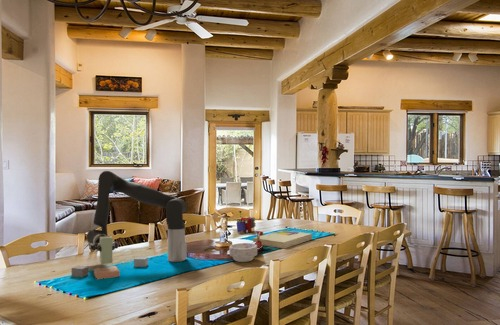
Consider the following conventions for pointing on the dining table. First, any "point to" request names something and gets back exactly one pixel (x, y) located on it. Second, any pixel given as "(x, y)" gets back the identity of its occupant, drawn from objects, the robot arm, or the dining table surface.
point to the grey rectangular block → (79, 271)
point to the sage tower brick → (106, 249)
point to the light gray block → (140, 261)
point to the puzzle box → (284, 239)
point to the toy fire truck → (259, 239)
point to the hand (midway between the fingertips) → (107, 248)
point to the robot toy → (245, 224)
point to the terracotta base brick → (106, 272)
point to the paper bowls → (243, 251)
